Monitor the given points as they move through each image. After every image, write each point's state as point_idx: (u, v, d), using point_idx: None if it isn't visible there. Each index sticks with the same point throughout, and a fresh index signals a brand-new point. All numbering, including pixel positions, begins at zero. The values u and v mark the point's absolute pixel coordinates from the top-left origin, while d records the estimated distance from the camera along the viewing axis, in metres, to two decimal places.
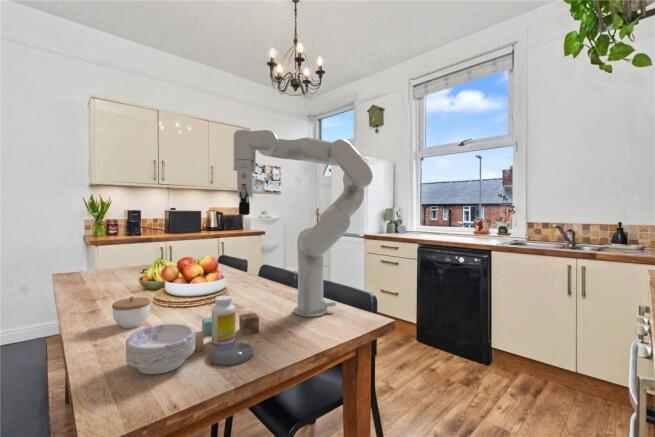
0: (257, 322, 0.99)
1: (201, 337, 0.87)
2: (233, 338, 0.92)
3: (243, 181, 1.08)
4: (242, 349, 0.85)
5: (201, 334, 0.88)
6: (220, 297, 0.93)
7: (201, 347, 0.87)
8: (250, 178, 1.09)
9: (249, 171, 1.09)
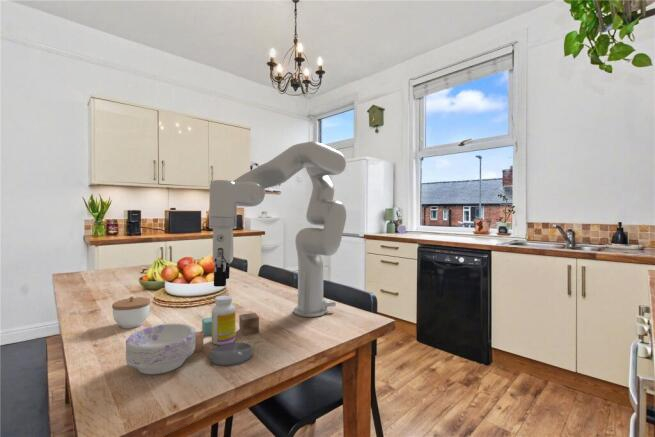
0: (257, 322, 0.99)
1: (201, 337, 0.87)
2: (233, 338, 0.92)
3: (220, 244, 0.87)
4: (242, 349, 0.85)
5: (201, 334, 0.88)
6: (220, 297, 0.93)
7: (201, 347, 0.87)
8: (229, 240, 0.88)
9: (227, 232, 0.88)
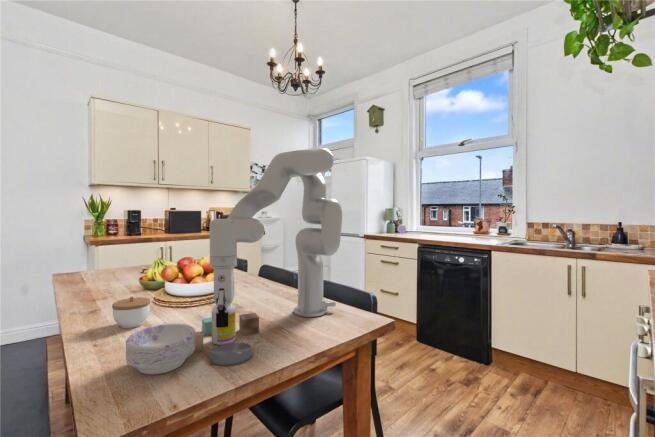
0: (257, 322, 0.99)
1: (201, 337, 0.87)
2: (233, 338, 0.92)
3: (221, 284, 0.88)
4: (242, 349, 0.85)
5: (201, 334, 0.88)
6: None
7: (201, 347, 0.87)
8: (229, 280, 0.89)
9: (228, 271, 0.89)
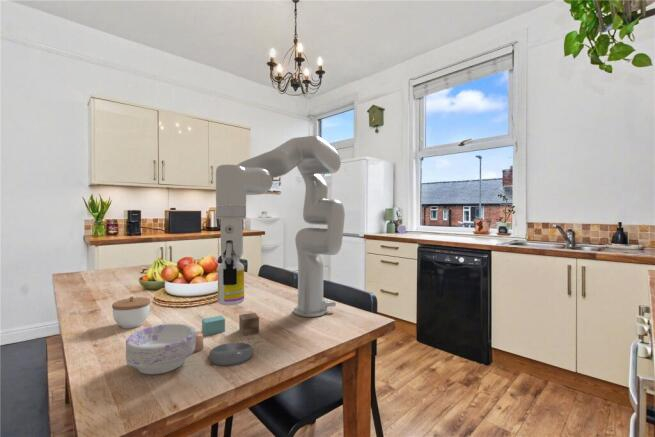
0: (257, 322, 0.99)
1: (201, 336, 0.87)
2: (242, 298, 0.82)
3: (229, 236, 0.78)
4: (242, 349, 0.85)
5: (200, 333, 0.88)
6: None
7: (202, 346, 0.87)
8: (238, 232, 0.79)
9: (237, 222, 0.79)
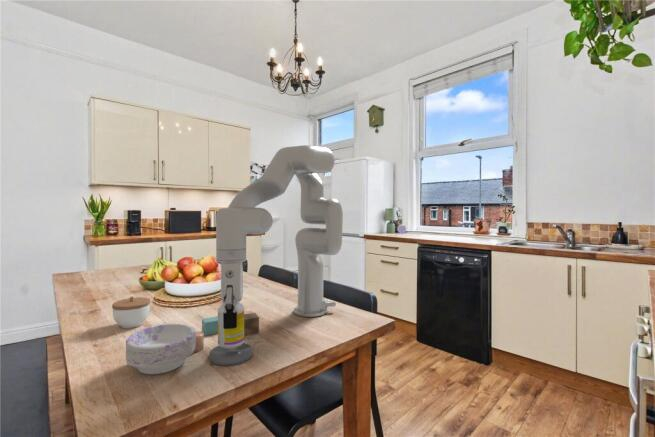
0: (257, 322, 0.99)
1: (203, 336, 0.88)
2: (242, 341, 0.83)
3: (229, 281, 0.79)
4: (242, 349, 0.85)
5: (201, 333, 0.88)
6: None
7: (202, 346, 0.88)
8: (238, 276, 0.79)
9: (237, 266, 0.79)
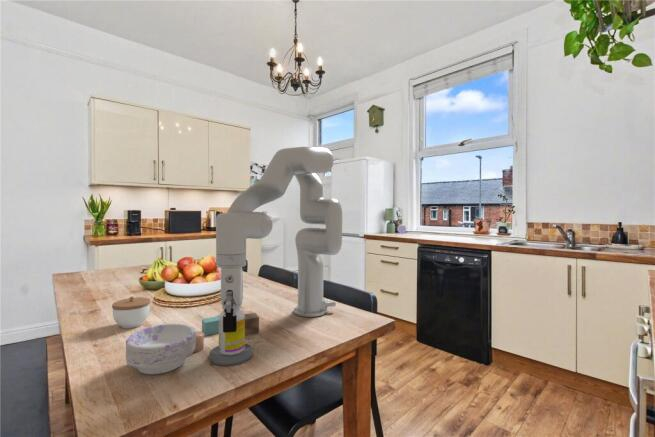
0: (257, 322, 0.99)
1: (203, 336, 0.88)
2: (242, 347, 0.83)
3: (229, 286, 0.79)
4: None
5: (201, 333, 0.89)
6: None
7: (203, 346, 0.88)
8: (238, 281, 0.79)
9: (237, 271, 0.79)
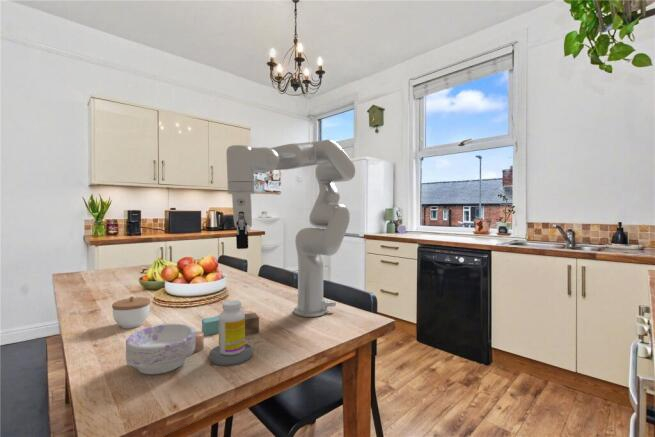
0: (257, 322, 0.99)
1: (203, 335, 0.88)
2: (242, 348, 0.83)
3: (241, 208, 0.89)
4: None
5: (200, 332, 0.89)
6: (228, 302, 0.84)
7: None
8: (249, 204, 0.90)
9: (247, 196, 0.90)
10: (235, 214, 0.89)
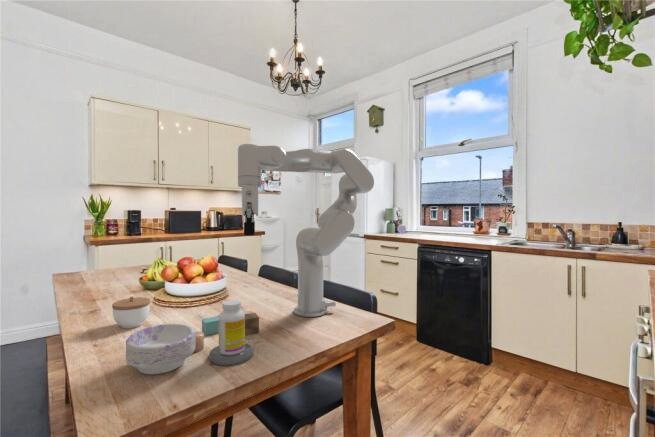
0: (257, 322, 0.99)
1: None
2: (242, 347, 0.83)
3: (249, 199, 1.01)
4: None
5: (200, 332, 0.89)
6: (228, 302, 0.84)
7: None
8: (256, 196, 1.02)
9: (255, 188, 1.02)
10: (243, 204, 1.01)
